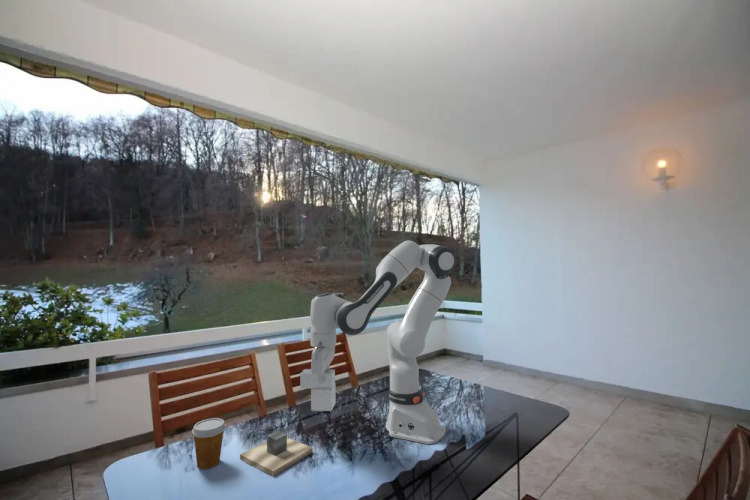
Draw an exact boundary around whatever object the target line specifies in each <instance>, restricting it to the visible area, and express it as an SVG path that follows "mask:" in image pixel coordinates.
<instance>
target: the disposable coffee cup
mask: <svg viewBox="0 0 750 500" xmlns="http://www.w3.org/2000/svg"><path fill="white" fill-rule="evenodd" d="M226 427H227V426H226V423H225V420H224V419H223V418H219V417H211V418H206V419H202V420H201V421H198V422H196V423H195V424H194V426H193V428H192V430H191V432H192V433H191V434H192V436H193V439H194V440H193V441H194V450H195V459H196V466H197V468H198V469H200V470H207V469H208V470H209V469H211V468H214V467H215V466H217V465H219V463H220V459H221V452H222V445H223V440H224V439H223V438H224V433H225V432H224V431H225V429H226Z"/></svg>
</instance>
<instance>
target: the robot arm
mask: <svg viewBox="0 0 750 500" xmlns="http://www.w3.org/2000/svg"><path fill="white" fill-rule="evenodd" d="M455 265H456V254H455V253H454V251H453V250H452V249H450V248H449V247H447V246H444V245H438V244H433V243H431V244H430V243H429V244H426V243H421V244H420V243H419V244H418V243H416V242H415V241H412V240H409V239H408V240H404V241H403V242H401V243H399V244H398V245H397V246H395V247H394V248H393V249H392V250H390V251H389V252H388V253H387V255H385V256H384V257H383V259H381V261H379V264H378V265H377V267H376V268H375V280H374V282H373V284H372V285H371V286H370V287H369V288H368V289H367V290H366V291H365V292H364V294H362V296H361V297H360V298H359V299H358V300H356V301H355V302H353V301H349V300H346V299H344V298H341V297H339V296H337V295H335V294H334V293H333V292H324V293H320V294H317V295H315V296H314V297H312V299H311V303H310V313H309V314H310V317H309V318H310V322H311V327H310V346H311V347H313V350H312V352H311V361H310V362H311V363H310V364H311V365H310V366H311V367H310V369H311V372H312V374H314V375H317V376H318V383H319V384H323V383H324V371H325V369H330V364H331V363H332V361H334V358H335V353H336V345H337V337H338V336H337V329H339V330H340V331H341V332H342V333H344V334H346V335H348V336H356V335H359V334H361V333H362V332H363V331H364V330H366V328H367V326H368V324H369V321H370V319H371V317H372V315H373V313H374V312H375V311H376V310H377V308H378V307H379V306H380V305H381V304H382V303H383V302H384V300H386V298H387V297H388V296H389V295H390V294H391V292H392V291H393V290H394V289H396V287H397V286H399V285H400V284H401V283H402V282H403V281H404V280H405V279H406V278H407V277H408V276H409V275H410V274H411V273H412V272H413V270H415V269H417V270H421V271H423V272H424V276H423V280H422V282H421V283H420V285H419V286H418V288H417V289H416V290H415V293H414V294H413V296H412V297H411V299H410V300H409V302H408V304H407V307H406V311H405V314H404V317H403V318H402V321H401V320H400V321H395V322H392V323H390V324H389V326H388V327H387V328H386V333H385V336H386V345H387V346H386V347H387V355H388V366H389V388H388V403H389V405H388V406H389V407H388V414H387V415H388V416H387V420H386V423H385V429H386V430H387V431H388V432H389V434H388V435H389V437H392V438H396V439H401V440H406V441H410V442H416V443H420V444H426V445H431V444H435V443H437V442H439V441H441V439H443V437H444V436H445V435H446V431H447V430H446V427H445V426H443V425H441V424H440V420H439V415H438V413H437V412H436V411H435V410H434V409H433V408H431V406H430V405H429V404H428V403H426V401H425V400H424V397H425V396H426V392H423V393H422V392H421V390H420V387H419V385H420V381H419V380H420V377H419V374H420V373H419V365H418V361H417V357H418V356H419V355H421V354H422V353H423V352H424V350H425V345H426V338H427V335H428V332H429V330H430V327H431V324H432V322H433V320H434V318H435V317H436V314H437V313H438V311H439V309H440V308H441V306H442V304H443V302H444V301H445V299H446V298H447V295H448V292H449V290H450V288H451V286H452V279H451V277H450V276H451V275H452V273H453V270H454V267H455Z"/></svg>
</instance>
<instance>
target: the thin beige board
mask: <svg viewBox="0 0 750 500" xmlns="http://www.w3.org/2000/svg"><path fill="white" fill-rule="evenodd" d="M312 453H313V447H311V446H310V445H307V444H304V443H303V442H302V443H301V442H299V441H297V440H295V439H293V438H290V437H288V433H285V432H282V431H280V430H276V431H275V432H273V433H271V434H268V435H267V436H266V441H264V442H262V443H260V444H258V445H256V446H254V447H252V448H250V449H248V450H246V451H245V452H242V453H240V455H239V460H241V461H242V462H245V463H246V464H249V465H250V466H252V467H254V468H256V469H258V470H260V471H262V472H263V473H266V474H267V475H269V476H272V477H274V476H276V475H279V473H281V472H283V471H285V470H286V469H287V468H289V467H291V466H292V465H294V464H296V463H297V462H299V461H301V460H302V459H304V458H306V457H307V456H309V455H310V454H312Z"/></svg>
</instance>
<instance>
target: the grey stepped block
mask: <svg viewBox="0 0 750 500" xmlns="http://www.w3.org/2000/svg"><path fill="white" fill-rule="evenodd" d="M335 370H336V369H333V368H332V369H331V368H329V369H325V371H324V383H323V384H319V383H318V376H317V375H314V374H312V372H311V368H305V369H303V370H302V371H301V372H300V373H299V375H300V377H299V378H300V379H299V381H300V383H299V384H300V386H299V387H300V389H309V390H310V395H311V396H310V411H314V412H332V411H333V409H334V408H335V405H336V402H337V400H336V394H337V393H336V391H337V390H336V389H337V387H336V371H335Z"/></svg>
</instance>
